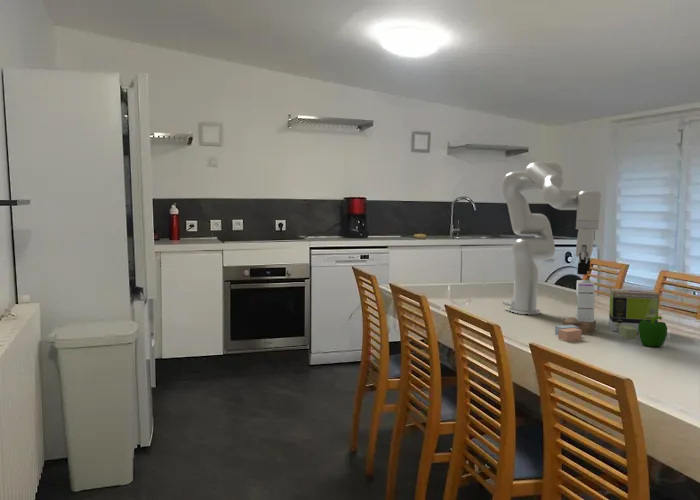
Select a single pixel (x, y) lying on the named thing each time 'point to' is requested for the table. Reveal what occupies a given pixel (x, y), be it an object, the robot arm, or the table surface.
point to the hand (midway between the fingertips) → (583, 272)
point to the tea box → (632, 307)
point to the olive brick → (628, 332)
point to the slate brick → (564, 328)
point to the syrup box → (585, 301)
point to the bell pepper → (652, 332)
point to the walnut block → (581, 325)
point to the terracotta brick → (570, 334)
